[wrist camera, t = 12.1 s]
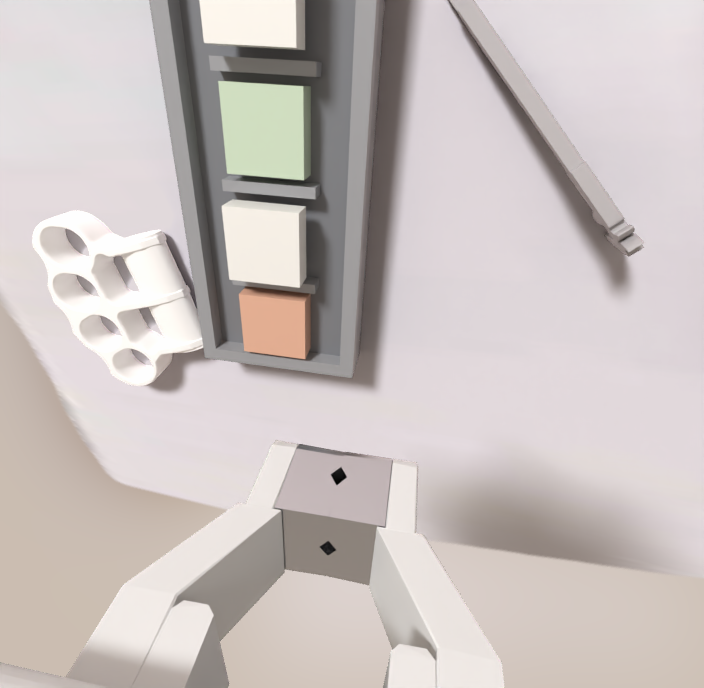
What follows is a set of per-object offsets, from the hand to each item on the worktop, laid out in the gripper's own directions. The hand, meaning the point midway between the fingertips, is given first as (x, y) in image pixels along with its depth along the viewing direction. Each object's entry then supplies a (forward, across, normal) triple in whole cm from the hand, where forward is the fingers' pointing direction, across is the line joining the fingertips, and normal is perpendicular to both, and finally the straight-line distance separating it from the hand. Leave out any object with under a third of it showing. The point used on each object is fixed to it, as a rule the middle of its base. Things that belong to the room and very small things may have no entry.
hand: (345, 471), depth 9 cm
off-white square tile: (+25, +10, +4) cm, 27 cm away
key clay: (+26, +10, +11) cm, 30 cm away
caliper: (+30, -9, -5) cm, 31 cm away
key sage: (+26, +10, -4) cm, 28 cm away
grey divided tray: (+29, +10, 0) cm, 31 cm away
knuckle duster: (+30, +27, +13) cm, 42 cm away
